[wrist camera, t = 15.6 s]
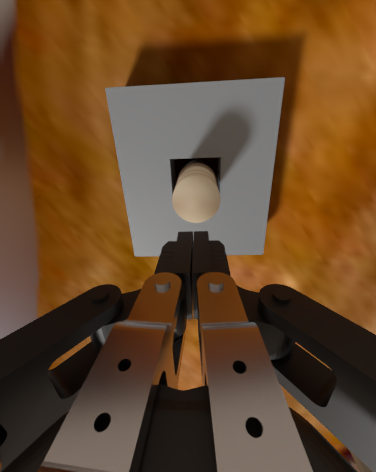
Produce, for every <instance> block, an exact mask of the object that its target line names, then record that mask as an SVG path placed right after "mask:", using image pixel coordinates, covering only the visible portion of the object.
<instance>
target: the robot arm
mask: <svg viewBox="0 0 376 472" xmlns="http://www.w3.org/2000/svg"><path fill="white" fill-rule="evenodd" d="M193 311H194V319H198V337H199V349H200V361H201V373H202V386H201V387H197V388H194V389H190V390H185V391H181V390H178V379H179V373H180V366H181V360H182V354H183V347H184V341H185V329H186V321H187V319H192V312H193ZM89 336H90V338H91V341H92V342H90V343H89V344H87V345H86V346H85V347H83V348H82V349H81V350H79V351H78V352H76V353H75V354H74V355H72V356H71V357H69V358H68V359H67V360H65V361H64V362H63V363H61V364H60V365H58V366H57V367H56V368H54V369H52V370H48V369H49V367H50V366H51V364H52V363H53V362H54V361H55V360H56V359H57V358H59V357H60V356H62V355H63V354H65V353H66V352H67V351H69V350H70V349H72V348H73V347H75V346H76V345H77V344H79V343H80V342H82V341H83V340H84V339H86V338H87V337H89ZM295 342H297V343H298V344H299V345H301V346H302V347H303V348H305V349H306V350H308V351H309V352H310V353H312V354H313V355H314V356H316V357H317V358H318V359H320V360H321V361H322V362H324V363H325V364H326V365H327V366H329V367H330V369H331V370H332V371H331V370H330V369H329V368H327V367H326V366H325V365H323V364H322V363H321V362H319V361H318V360H317V359H315V358H314V357H313V356H311V355H310V354H309V353H307V352H306V351H305V350H303V349H302V348H301V347H299V346H298V345H297V344H295ZM280 385H282V386H283V387H284V388H285V389H286V390H287V391H288V392H289V393H290V394H291V395H292V396H293V397H294V398H295V399H296V400H297V401H298V402H299V403H301V404H302V405H303V406H304V407H305V408H306V409H307V410H308V411H309V412H310V413H311V414H312V415H313V416H314V417H315V418H316V419H317V420H319V421H320V422H321V423H322V424H323V425H324V426H325V427H326V428H327V429H328V430H329V431H330V432H331V433H332V434H333V435H334V436H335V437H336V438H338V439H339V440H340V441H341V442H342V443H343V444H344V445H345V446H346V447H347V448H348V449H349V450H350V451H351V452H352V453H353V454H354V455H356V456H357V457H358V458H359V459H360V460H361V461H362V462H363V463H364V464H365V465H366V466H367V467H368V468H369V469H370V470H371V471H372V472H376V335H375V334H373V333H371V332H369V331H368V330H366V329H364V328H362V327H361V326H359V325H357V324H355V323H353V322H352V321H350V320H348V319H346V318H344V317H343V316H341V315H339V314H337V313H336V312H334V311H332V310H330V309H328V308H327V307H325V306H323V305H321V304H319V303H318V302H316V301H314V300H312V299H311V298H309V297H307V296H305V295H303V294H302V293H300V292H298V291H296V290H294V289H293V288H291V287H288V286H285V285H280V284H271V285H267V286H264V287H263V288H262V289H261V290H260V292H259V293H257V292H253V291H249V290H245V289H243V288H241V287H239V286H237V285H236V284H235V281H234V280H233V278H232V277H231V276H230V271H229V266H228V261H227V256H226V251H225V246H224V245H223V244H222V243H221V242H220V241H219V240H209V234H208V231H194V240H193V231H184V232H178V237H177V241H168V242H167V243H166V244H165V245H164V246H163V247H162V250H161V254H160V257H159V260H158V263H157V267H156V270H155V273H154V275H152V276H150V277H149V278H148V279H147V280H146V281H145V282H144V285H143V287H142V289H139V290H137V291H133V292H128V293H124V294H121V290H120V288H118V287H117V286H115V285H110V284H106V285H100V286H97V287H94V288H92V289H90V290H88V291H86V292H85V293H83V294H81V295H79V296H77V297H76V298H74V299H72V300H70V301H68V302H67V303H65V304H63V305H61V306H59V307H58V308H56V309H54V310H52V311H51V312H49V313H47V314H45V315H43V316H42V317H40V318H38V319H36V320H34V321H33V322H31V323H29V324H27V325H25V326H24V327H22V328H20V329H18V330H17V331H15V332H13V333H11V334H9V335H7V336H6V337H4V338H2V339H0V472H357V471H356V470H355V469H354V468H353V467H352V466H351V465H350V464H349V463H348V462H347V460H346V459H345V458H344V457H343V456H342V455H341V454H340V453H339V452H338V451H337V450H336V449H335V448H334V447H333V446H332V445H331V444H330V443H329V442H328V441H327V440H326V439H325V438H324V437H323V436H322V435H321V434H320V433H319V432H318V431H317V430H316V429H315V428H314V427H313V426H312V425H311V424H310V423H309V422H308V421H307V420H305V419H304V418H303V417H302V416H301V415H300V414H298V413H297V412H295V411H294V410H293V409H291V408H290V407H288V405H287V402H286V399H285V397H284V394H283V391H282V389H281V386H280Z"/></svg>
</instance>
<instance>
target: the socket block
mask: <svg viewBox="0 0 376 472" xmlns="http://www.w3.org/2000/svg"><path fill="white" fill-rule="evenodd" d="M284 82H285V77H277V78H260V79H244V80H227V81H211V82H194V83H178V84H161V85H144V86H128V87H111V88H105V90H106V96H107V102H108V107H109V113H110V118H111V124H112V130H113V135H114V141H115V147H116V152H117V158H118V164H119V169H120V175H121V181H122V186H123V192H124V197H125V203H126V209H127V214H128V220H129V226H130V231H131V237H132V243H133V248H134V254H135V256H160V254H161V250H162V247H163V246H164V245H165V244H166V243H167V242H168V241H177V237H178V232H184V231H193V240H194V231H208V234H209V240H219V241H220V242H221V243H222V244H223V245H224V246H225V251H226V255H263V250H264V242H265V234H266V226H267V218H268V210H269V202H270V194H271V186H272V178H273V170H274V162H275V154H276V146H277V138H278V130H279V122H280V114H281V106H282V98H283V90H284ZM212 157H217V186H218V190H219V193H220V206H219V209H218V211H217V212H216V214H215V215H214V216H213V217H212V218H210V219H209V220H207V221H204V222H200V223H192V222H188V221H186V220H184V219H182V218H181V217H180V216H179V215H178V214H177V213H176V211H175V210H174V207H173V204H172V196H173V192H174V189H175V187H176V184H177V183H176V168H175V159H188V158H212Z"/></svg>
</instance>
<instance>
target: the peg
mask: <svg viewBox="0 0 376 472" xmlns="http://www.w3.org/2000/svg"><path fill="white" fill-rule="evenodd" d="M172 204H173V207H174V210H175V211H176V213H177V214H178V215H179V216H180V217H181V218H182V219H184V220H186V221H188V222H192V223H200V222H204V221H207V220H209V219H210V218H212V217H213V216H214V215H215V214H216V212H217V211H218V209H219V206H220V193H219V190H218V186H217V181H216V176H215V174H214V172H213V170H212V168H211V167H210V165H209V164H208V163H206V162H204V161H202V160H193V161H190V162H188V163H187V164H186V165H185V166H184V167H183V169H182V170H181V172H180V173H179V176H178V179H177V184H176V187H175V189H174V192H173V196H172Z"/></svg>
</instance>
